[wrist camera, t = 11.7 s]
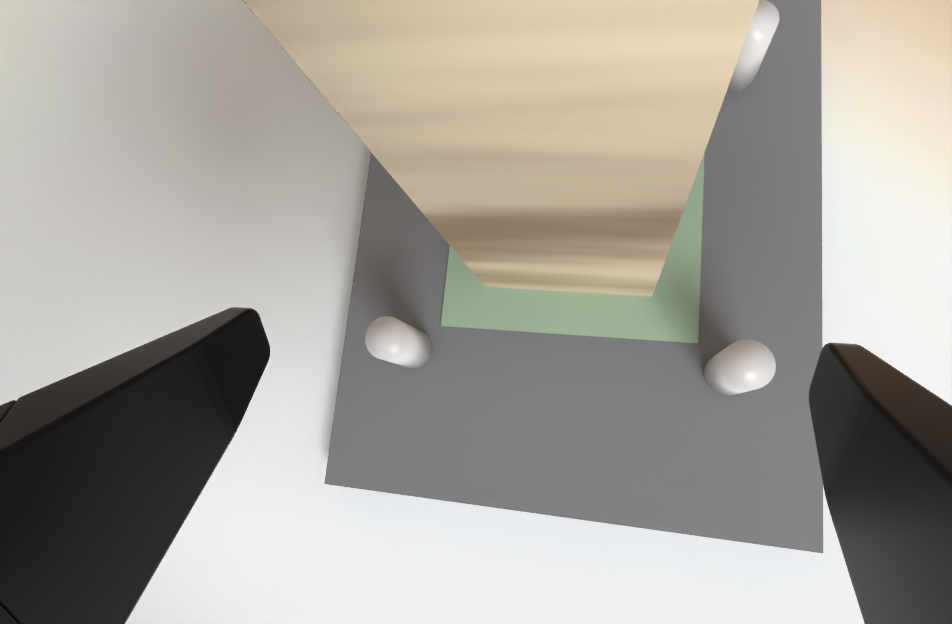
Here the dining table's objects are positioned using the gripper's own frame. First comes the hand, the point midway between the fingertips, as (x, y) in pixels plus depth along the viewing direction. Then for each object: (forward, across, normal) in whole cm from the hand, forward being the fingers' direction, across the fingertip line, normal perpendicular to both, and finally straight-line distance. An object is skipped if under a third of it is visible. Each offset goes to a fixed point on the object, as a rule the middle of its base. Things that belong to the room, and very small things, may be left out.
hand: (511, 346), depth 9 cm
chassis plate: (+10, 0, +3) cm, 11 cm away
